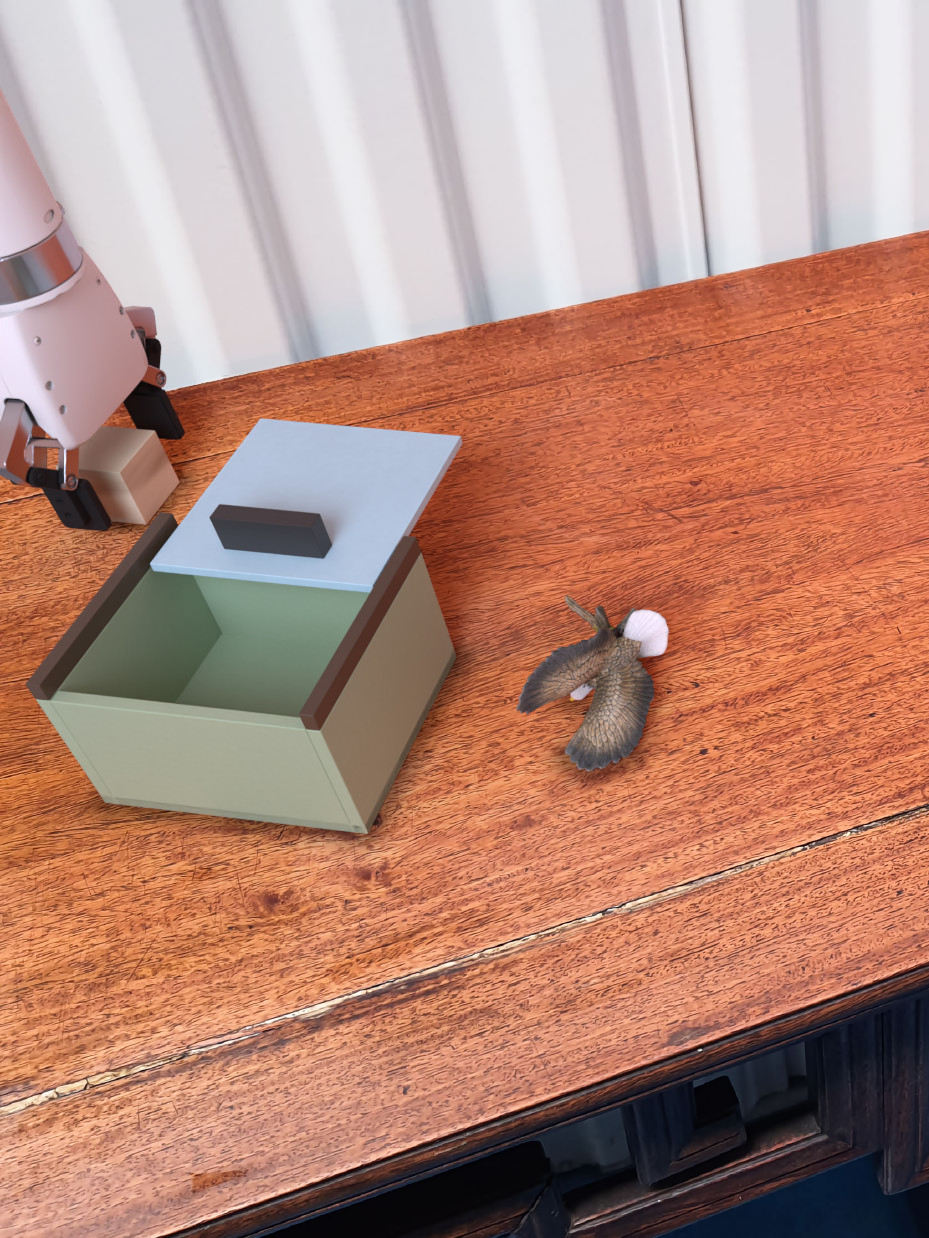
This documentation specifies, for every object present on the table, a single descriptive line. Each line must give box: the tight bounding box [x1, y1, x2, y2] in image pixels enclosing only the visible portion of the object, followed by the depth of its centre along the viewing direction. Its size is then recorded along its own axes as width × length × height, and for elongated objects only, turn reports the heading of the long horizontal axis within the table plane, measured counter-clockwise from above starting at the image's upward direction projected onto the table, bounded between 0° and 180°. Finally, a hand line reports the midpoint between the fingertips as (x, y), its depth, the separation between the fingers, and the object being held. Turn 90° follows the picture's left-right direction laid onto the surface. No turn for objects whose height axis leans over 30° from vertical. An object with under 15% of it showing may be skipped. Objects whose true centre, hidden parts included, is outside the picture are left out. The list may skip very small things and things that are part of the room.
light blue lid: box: [150, 417, 464, 593], centre depth 82 cm, size 13×14×3 cm
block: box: [54, 425, 181, 526], centre depth 95 cm, size 5×5×5 cm
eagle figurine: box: [515, 595, 670, 773], centre depth 81 cm, size 8×7×9 cm
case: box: [25, 511, 457, 835], centre depth 79 cm, size 16×14×10 cm
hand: (128, 480), depth 96 cm, fingers open, 9 cm apart
